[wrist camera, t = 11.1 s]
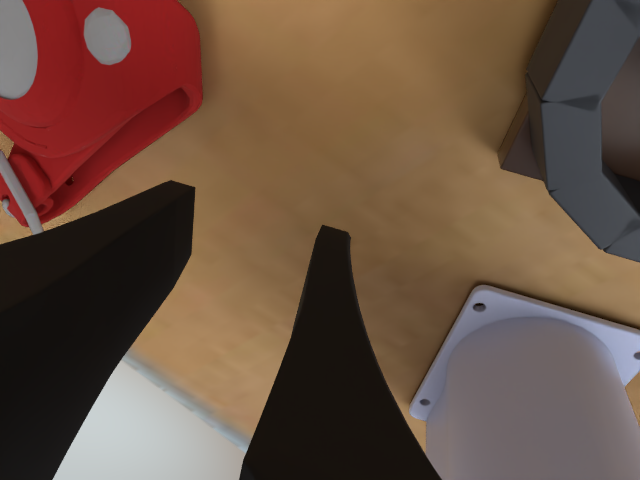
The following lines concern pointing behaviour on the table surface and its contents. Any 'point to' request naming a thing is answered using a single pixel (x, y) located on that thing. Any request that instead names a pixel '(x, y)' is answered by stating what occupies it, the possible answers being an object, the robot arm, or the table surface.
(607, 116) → the brown peg stand
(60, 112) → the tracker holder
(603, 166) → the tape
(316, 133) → the table surface
